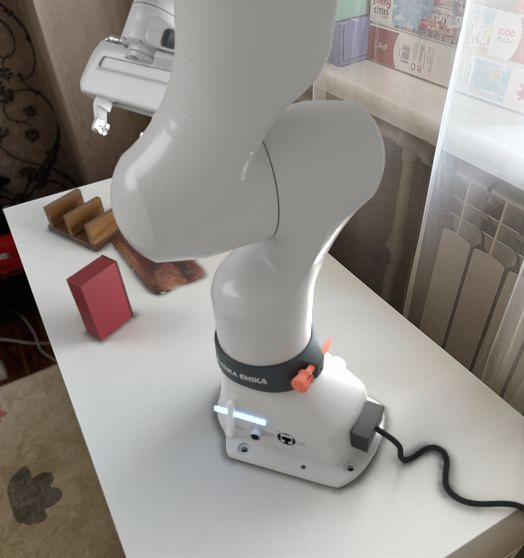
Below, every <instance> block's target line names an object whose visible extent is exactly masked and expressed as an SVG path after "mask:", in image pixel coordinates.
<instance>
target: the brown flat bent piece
mask: <svg viewBox="0 0 524 558" xmlns="http://www.w3.org/2000/svg"><path fill="white" fill-rule="evenodd" d="M111 243H112V245H114V246H115V248H116V249H117V250H118V251H119V252H120V253H121V254H122V255H123V257H124V258H125V259H126V260H127V262H128V264H130V266H131V267H132V268H133V270H135V272H136V273H137V274H138V276H139V277H140V278H141V280H143V282H144V283H145V285H146V286H147V287H148V288H149V289H150V290H151V291H152V292H154V293H155V294H156V295H159V296H160V295H163V294H166V293H168V292H169V291H172V290H173V289H175V287H177V286H184V285H187V284H188V285H189V284H191V283H193V282H196V281H198V280H199V279H201V278H202V277H203V275H204V271H203V269H202V268H201V267H200V265H199V263H197V262H196V261H195V259H193V260H184V261H172V262H159V263H156V262H154V261H152V260H150V259H148V258H146V257H145V256H143V255H142V254H140V253H139V252H138V251H136V250H135V249H134V248H133V247H132V246H131V245H130V244H129V242H128V241H127V240H126V239H125V237H124V236H123V234H122V233H120V234H118V235H117V236H116V237H114V239H113V240H112V242H111Z"/></svg>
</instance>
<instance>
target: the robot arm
mask: <svg viewBox="0 0 524 558" xmlns="http://www.w3.org/2000/svg"><path fill="white" fill-rule="evenodd" d="M338 5H339V0H133V1H132V5H131V7H130V9H129V12H128V15H127V18H126V21H125V25H124V27H123V30H122V34H121V36H117V35H114V34H110V35H108V36H107V37H106V38H104V39H103V40H101V41H100V42H99V44H98V45H96V47H95V48H94V50H93V51H92V53H91V55H90V57H89V59H88V61H87V63H86V66H85V68H84V70H83V72H82V74H81V77H80V81H79V87H80V92H82V93H83V94H84V95H86V96H87V97H88V98H91V99H93V103H92V107H93V117H94V119H93V123H92V125H91V131H92V132H94V133H95V134H97V135H100V136H103V137H106V136H107V135H108V134H109V132H108V131H109V130H110V127H111V125H110V124H109V123H108V113H110V112H111V110H112V107H116V108H119V109H123V110H125V111H129V112H133V113H137V114H140V115H144V116H147V117H150V118H151V119H150V122H149V124H148V125H147V127H146V128H145V129H144V131H143V132H142V131H141V132H140V134H139V137H138V139H137V140H136V141H134V143H132V145H131V146H129V148H128V149H127V150H126V151H125V152H124V153H122V155H120V157H119V159H118V161H117V163H116V165H115V168H114V170H113V174H112V177H111V182H110V194H109V195H110V205H111V208H112V211H113V215H114V218H115V221H116V223H117V225H118V227H119V229H120V231H121V233H122V234H123V236H124V237H125V239H126V240H127V241H128V242H129V244H130V245H131V246H132V247H133V248H134V249H135V250H136V251H138V252H139V253H140V254H142V255H143V256H145V257H146V258H148V259H150V260H152V261H154V262H156V263H159V262H172V261H184V260H199V259H200V260H201V259H208V258H211V257H215V256H217V255H220V254H224V253H227V252H229V253H228V254H227V255H226V256H225V257H224V258H223V260H221V262H220V263H219V265H218V266H217V267H216V270H215V271H214V274H213V277H212V281H211V285H210V300H211V306H212V313H213V318H214V324H215V330H214V337H213V339H214V348H215V358H216V361H217V364H218V366H219V369H220V373H221V377H220V379H221V380H220V381H221V383H220V393H219V397H218V400H217V405H214V406H213V409H214V411H215V412H216V415H217V420H218V423H219V424H220V427H221V429H222V431H223V432H224V436H225V450H226V454H227V456H228V457H229V458H231V459H233V460H237V461H240V462H244V463H247V464H250V465H254V466H257V467H261V468H264V469H267V470H271V471H274V472H279V473H282V474H285V475H289V476H292V477H295V478H299V479H302V480H306V481H310V482H313V483H317V484H320V485H323V486H327V487H331V488H335V489H339V488H343V487H344V486H346V485H348V484H350V483H351V482H353V481H354V480H356V479H357V478H358V477H359V476H360V475H361V474H362V473H363V472H364V470H366V469H367V467H368V466H369V464H370V463H371V461H372V459H373V458H374V456H375V454H376V452H377V450H378V448H379V446H380V444H381V441H382V440H383V438H384V439H386V440H388V441H389V442H390V443H392V444H393V446H394V447H395V448H396V449H397V450H396V451H397V458H398V460H399V461H400V462H402V463H411V462H414V461H415V460H417V459H418V458H420V457H421V456H422V455H424V454H426V453H427V452H430V451H435V452H438V453H439V454H440V455H441V456H442V459H443V467H442V475H441V476H442V478H441V479H442V487H443V489H444V491H445V493H446V494H447V495H448V496H449V497H450V498H451V499H453V500H454V501H456V502H458V503H460V504H462V505H465V506H467V507H475V508H513V509H517V510H519V511H521V512H522V513H524V504H523V503H521V502H517V501H512V500H474V499H468V498H466V497H462V496H461V495H459V494H457V493H456V492H455V491H454V490H453V489H452V487H451V485H450V478H449V477H450V467H451V461H450V460H451V459H450V455H449V453H448V452H447V450H446V449H444V447H442V446H440V445H437V444H427V445H424V446H422V447H421V448H419V449H418V450H416V451H415V452H414V453H412V454H411V455H409V456H405V454H404V453H405V451H404V446H403V444H402V443H401V442H400V441H399V439H397V438H396V437H395V436H394V435H392V434H391V433H390V432H388V431H387V430H385V425H386V423H385V422H386V421H385V420H386V418H385V408H386V407H385V405H383V404H380V403H379V402H378V401H376V400H375V399H373V398H371V397H370V396H369V395H368V393H367V389H366V386H365V385H364V383H363V382H362V381H361V380H360V379H359V378H358V377H357V376H356V375H354V374H353V373H352V372H351V371H350V370H348V369H347V362H346V361H345V360H344V359H343V358H342V357H340V356H337V355H336V356H332V355H331V354H330V353H329V352H328V351H329V350H330V347H331V345H332V342H331V340H332V337H330V336H329V337H328V338H327V339H326V341H325V342H324V344H322V341H321V340H320V338H319V335H318V333H317V330H316V328H315V326H314V324H313V322H312V316H313V302H314V293H315V292H314V291H315V285H316V280H317V277H318V275H319V272H320V270H321V267H322V265H323V262H324V261H325V259H326V256H327V255H328V253H329V251H330V249H331V247H332V246H333V244H334V243H335V241H336V239H337V237H339V236H338V235H339V234H340V233H341V232H342V230H343V228H344V227H345V226H346V225H347V223H348V222H349V221H350V220H351V218H352V217H353V216H354V215H355V214H356V213H357V212H358V211H359V210H360V209H361V208H362V207H363V206H364V205H365V204H366V203H368V202H369V200H370V199H372V198H373V197H374V196H375V194H376V193H377V191H378V189H379V187H380V185H381V183H382V180H383V176H384V172H385V165H386V149H385V143H384V139H383V136H382V135H383V134H382V133H381V130H380V128H379V125H378V124H377V122H376V120H375V119H374V118H373V116H372V115H371V114H370V112H369V111H368V110H367V109H365V107H364V106H362V105H361V104H360V103H358V102H357V101H354V100H345V99H344V100H339V99H317V100H315V99H313V100H312V99H311V100H310V99H309V100H302V101H298V102H295V101H297V100H298V99H299V98H300V97H301V96H303V94H304V93H305V92H307V90H309V88H310V87H311V86H312V85H313V84H314V83H315V81H317V79H318V78H319V76H320V75H321V73H322V72H323V70H324V68H325V66H326V64H327V62H328V59H329V58H330V55H331V52H332V47H333V42H334V35H335V29H336V20H337V13H338V7H339V6H338ZM348 469H349V470H348ZM350 469H351V470H352V471H350Z"/></svg>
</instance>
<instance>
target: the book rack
mask: <svg viewBox="0 0 524 558" xmlns="http://www.w3.org/2000/svg"><path fill="white" fill-rule="evenodd" d="M42 208H43V211H44V213H45V217H46V218H47V221H48V224H47V228H48V230H49V231H51V232H52V233H56V234H57V235H59V236H61V237H63V238H66V239H67V240H70V241H72V242H74V243H76V244H78V245H80V246H82V247H85V248H86V249H88V250H91V251H93V252H96V253H97V252H98V251H100V250H101V249H103V248H104V247H107V245H109V244H111V243H112V240H113V239H114V237H116V236H117V235H118V234H120V233H121V231H120V229H119V227H118V225H117V223H116V221H115V218H114V215H113V211H112V207H111V208H109V209H108V210H106V211H105V208H104V205H103V201H102V198H101V197H100V196H98V195H96V196H94V197H92V198H90V199H88V200H87V201H85V200H84V196H83V194H82V190H81V189H80V188H77V187H75V188H74V189H72V190H70V191H69V192H67V193H65V194H64V195H62V196H60V197H58V198H57V199H55V200H53V201H51V202H50V203H48V204H46V205H44V206H43V207H42Z"/></svg>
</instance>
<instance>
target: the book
mask: <svg viewBox="0 0 524 558" xmlns="http://www.w3.org/2000/svg"><path fill="white" fill-rule="evenodd" d="M65 281H66V283H67V285H68V288H69V290H70V293H71V296H72V298H73V300H74V303H75V306H76V309H77V310H78V313H79V315H80V318H81V320H82V322H83V325H84V328H85V330H86V332H87V334H88V335H89V336H91V337H93V338H94V339H96V340H98V341H100V342H103V341H104V340H105V339H106V338H107V337H109V336H111V334H113V332H115V331H116V330H118V329H119V328H120V327H122V326H123V325H124V324H125V323H126V322H128V321H130V319H132V318H134V316H135V315H134V312H133V309H132V304H131V302H130V299H129V295H128V293H127V289H126V286H125V285H126V284H125V282H124V279H123V276H122V272H121V270H120V266H119V263H118V261H117V260H115V259H113V258H111V257H108V256H106V255H104V254H100V255H99V256H98V257H97V258H96V259H94V260H93V261H90V262H89V263H88V264H86V265H85V266H84V267H81V269H78V271H76V272H75V273H73V274H71V275H70V276H69V277H67V278H66V279H65Z"/></svg>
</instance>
